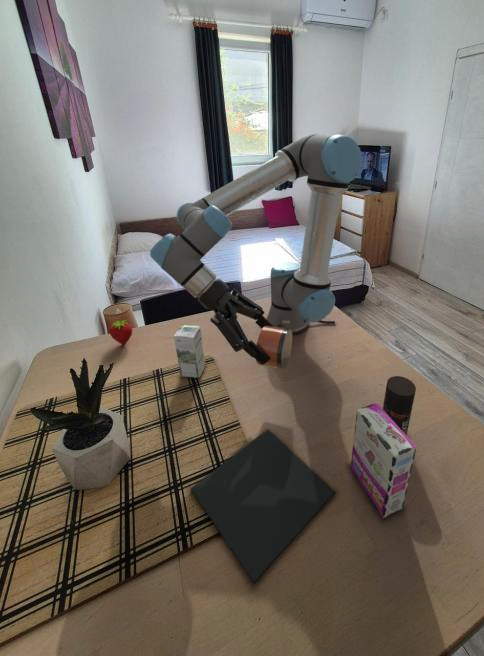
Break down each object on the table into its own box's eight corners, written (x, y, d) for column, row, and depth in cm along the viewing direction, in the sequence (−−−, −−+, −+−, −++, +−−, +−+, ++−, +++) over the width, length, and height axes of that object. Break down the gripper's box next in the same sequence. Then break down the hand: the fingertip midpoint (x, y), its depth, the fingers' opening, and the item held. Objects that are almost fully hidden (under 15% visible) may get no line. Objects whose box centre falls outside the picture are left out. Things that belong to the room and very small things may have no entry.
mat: (268, 430, 77) (268, 429, 76) (334, 493, 63) (334, 491, 63) (191, 490, 64) (190, 488, 64) (254, 584, 51) (253, 582, 50)
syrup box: (206, 365, 98) (201, 324, 92) (199, 379, 93) (193, 336, 87) (187, 364, 98) (181, 323, 93) (179, 377, 93) (172, 335, 87)
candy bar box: (404, 508, 61) (418, 447, 54) (383, 520, 59) (394, 458, 53) (368, 457, 70) (377, 400, 64) (349, 466, 69) (355, 408, 62)
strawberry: (121, 337, 111) (114, 312, 107) (139, 340, 109) (134, 315, 105) (107, 347, 106) (101, 321, 102) (127, 351, 104) (120, 324, 100)
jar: (252, 357, 76) (263, 318, 82) (261, 370, 85) (271, 334, 90) (278, 362, 75) (288, 322, 80) (285, 375, 83) (294, 338, 88)
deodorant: (387, 420, 79) (395, 372, 73) (410, 435, 75) (420, 385, 69) (374, 435, 76) (381, 385, 70) (397, 451, 72) (407, 400, 66)
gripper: (215, 277, 91) (271, 330, 94) (175, 321, 70) (249, 386, 74) (232, 261, 88) (289, 316, 91) (195, 301, 67) (271, 370, 71)
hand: (271, 347), depth 83 cm, fingers closed on jar, 10 cm apart
